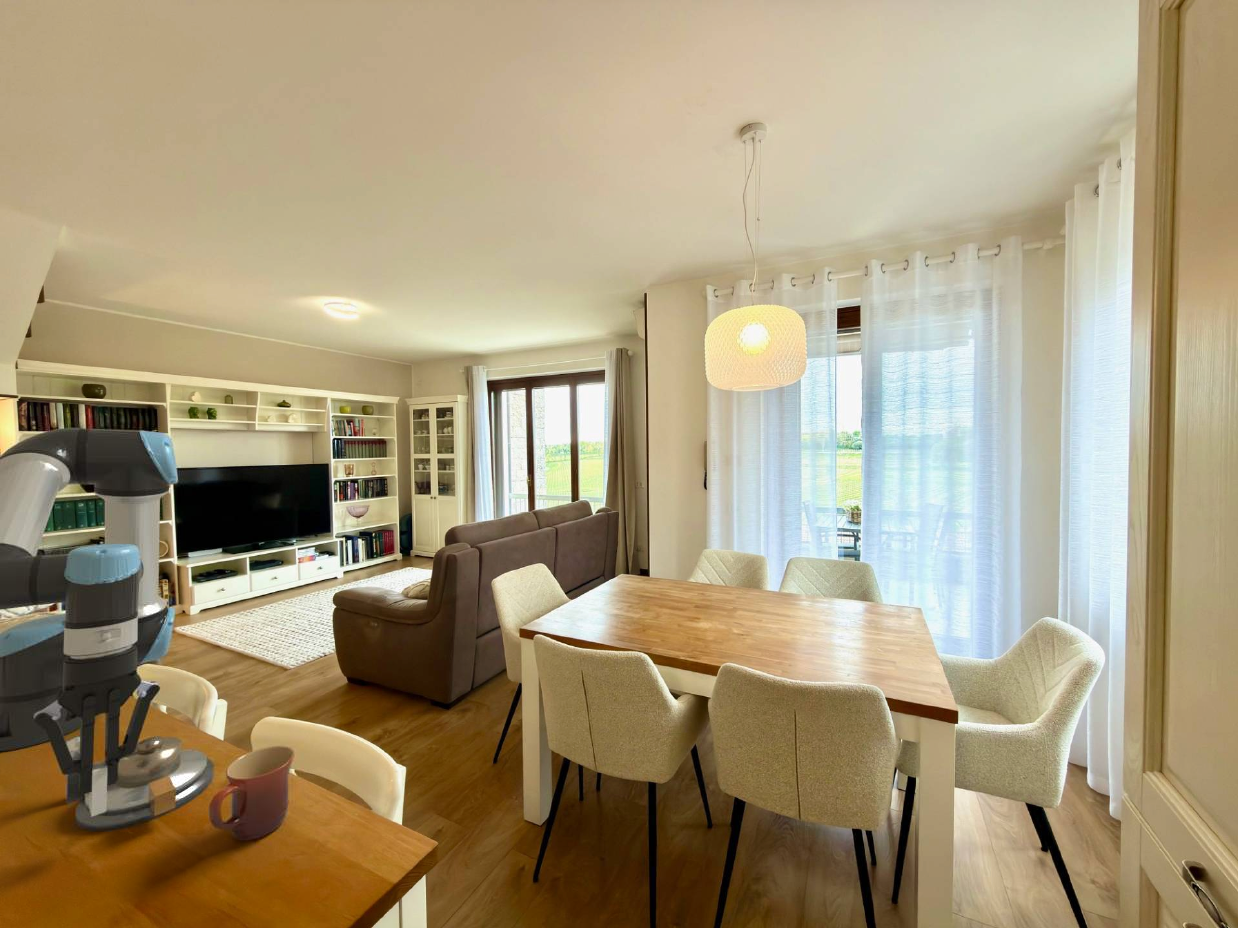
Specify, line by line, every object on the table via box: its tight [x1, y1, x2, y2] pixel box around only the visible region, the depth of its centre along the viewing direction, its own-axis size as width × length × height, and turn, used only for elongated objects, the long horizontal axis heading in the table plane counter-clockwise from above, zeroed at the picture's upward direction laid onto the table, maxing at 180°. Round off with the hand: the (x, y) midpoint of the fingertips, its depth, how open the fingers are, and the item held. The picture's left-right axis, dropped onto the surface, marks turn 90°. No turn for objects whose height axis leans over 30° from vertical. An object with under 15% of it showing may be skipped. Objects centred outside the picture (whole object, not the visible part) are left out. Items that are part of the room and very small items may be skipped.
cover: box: [116, 735, 182, 788], centre depth 84 cm, size 8×8×6 cm
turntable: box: [85, 748, 208, 816], centre depth 82 cm, size 20×15×4 cm
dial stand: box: [65, 734, 85, 805], centre depth 82 cm, size 3×4×11 cm
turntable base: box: [74, 757, 215, 832], centre depth 83 cm, size 17×17×2 cm
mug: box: [208, 745, 295, 841], centre depth 75 cm, size 12×9×10 cm
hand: (97, 809), depth 72 cm, fingers closed
